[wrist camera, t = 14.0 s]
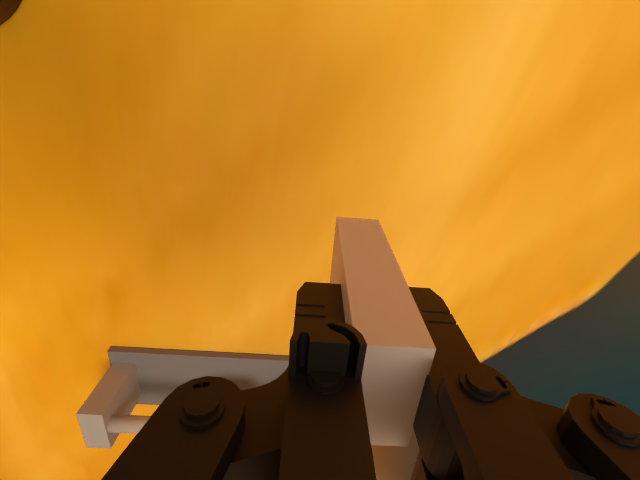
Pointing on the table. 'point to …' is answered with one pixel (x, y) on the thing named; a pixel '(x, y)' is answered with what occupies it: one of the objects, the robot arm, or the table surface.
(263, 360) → the rail
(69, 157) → the table surface
